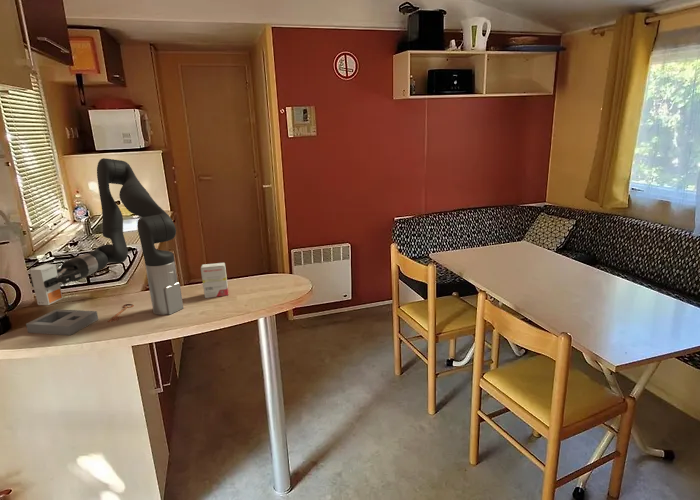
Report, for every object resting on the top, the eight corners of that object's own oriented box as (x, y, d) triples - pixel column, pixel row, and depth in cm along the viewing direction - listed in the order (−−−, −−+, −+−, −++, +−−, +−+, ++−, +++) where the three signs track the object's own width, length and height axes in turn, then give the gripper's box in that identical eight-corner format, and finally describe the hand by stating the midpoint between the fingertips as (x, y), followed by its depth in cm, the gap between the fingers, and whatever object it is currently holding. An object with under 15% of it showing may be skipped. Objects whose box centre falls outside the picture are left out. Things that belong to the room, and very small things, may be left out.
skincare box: (48, 305, 147) (40, 270, 144) (37, 305, 148) (28, 269, 144) (63, 298, 153) (55, 263, 149) (52, 298, 153) (44, 263, 150)
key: (120, 323, 153) (140, 306, 168) (120, 321, 153) (140, 303, 167) (102, 322, 153) (124, 305, 168) (102, 320, 153) (124, 302, 167)
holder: (98, 319, 155) (96, 311, 155) (70, 335, 144) (68, 326, 143) (58, 317, 159) (56, 309, 158) (28, 332, 148) (25, 323, 147)
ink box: (228, 291, 177) (225, 261, 174) (228, 295, 172) (224, 265, 169) (205, 293, 175) (201, 263, 172) (204, 298, 171) (200, 267, 167)
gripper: (60, 256, 162) (17, 272, 146) (95, 257, 159) (55, 274, 143) (65, 276, 164) (22, 294, 148) (99, 278, 161) (60, 296, 145)
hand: (39, 284), depth 146 cm, fingers closed on skincare box, 4 cm apart
